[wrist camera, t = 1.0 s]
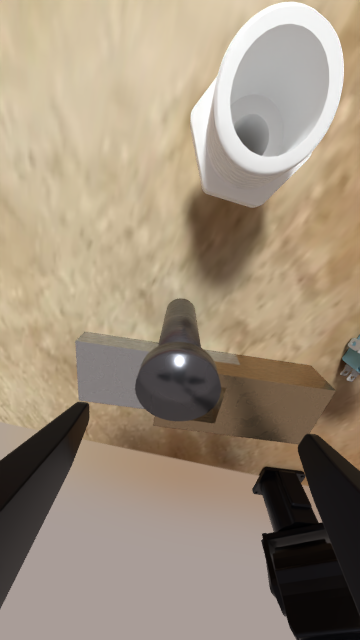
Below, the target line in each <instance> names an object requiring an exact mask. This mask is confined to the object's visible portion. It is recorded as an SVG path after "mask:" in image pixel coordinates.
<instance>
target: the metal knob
mask: <svg viewBox="0 0 360 640" xmlns="http://www.w3.org/2000/svg"><path fill="white" fill-rule="evenodd" d="M135 392H136V396H137V398H138V400H139V402H140V404H141V405H142V406H143V407H144V408H145V409H146V410H147V411H148V412H150V413H151V414H153V415H154V416H156V417H159V418H161V419H165V420H169V421H189V420H193V419H196V418H199V417H201V416H203V415H205V414H206V413H208V412H209V411H210V410H211V409H213V407H214V406H215V405H216V404H217V402H218V400H219V398H220V394H221V383H220V379H219V375H218V371H217V367H216V364H215V362H214V360H213V358H212V357H211V356H210V355H209V354H208V353H207V352H206V351H205V350H204V349H202V348H201V345H200V339H199V332H198V326H197V320H196V313H195V308H194V306H193V304H192V303H191V302H190V301H188V300H186V299H175V300H173V301H172V302H171V303H170V304H169V305H168V307H167V310H166V314H165V319H164V323H163V327H162V332H161V336H160V340H159V345H158V347H156V348H154V349H153V350H151V351H150V352H149V353H148V354H147V355H146V356H145V358H144V360H143V361H142V364H141V367H140V370H139V373H138V376H137V379H136V383H135Z"/></svg>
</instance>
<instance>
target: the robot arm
mask: <svg viewBox="0 0 360 640" xmlns="http://www.w3.org/2000/svg"><path fill="white" fill-rule="evenodd" d="M88 422H89V404H88V403H86V402H77V403H75V404H74V405H73V406H71V407H70V408H69V409H67V410H66V411H65V412H63V413H62V414H61V415H59V416H58V417H57V418H56V419H54V420H53V421H52V422H50V423H49V424H48V425H46V426H45V427H44V428H42V429H41V430H40V431H38V432H37V433H36V434H34V435H33V436H32V437H31V438H29V439H28V440H27V441H25V442H24V443H23V444H21V445H20V446H19V447H18V448H16V449H15V450H14V451H12V452H11V453H9V454H8V455H7V456H6V457H4V458H3V459H2V460H0V608H1V606H2V604H3V602H4V600H5V598H6V596H7V594H8V592H9V590H10V588H11V586H12V584H13V582H14V580H15V578H16V576H17V574H18V572H19V570H20V568H21V566H22V564H23V562H24V560H25V558H26V556H27V554H28V552H29V550H30V548H31V546H32V544H33V542H34V540H35V538H36V536H37V534H38V532H39V530H40V528H41V526H42V524H43V522H44V520H45V518H46V516H47V514H48V512H49V510H50V508H51V506H52V504H53V502H54V500H55V498H56V496H57V494H58V492H59V490H60V488H61V486H62V484H63V482H64V480H65V478H66V476H67V474H68V472H69V470H70V468H71V466H72V463H73V461H74V458H75V456H76V453H77V450H78V448H79V445H80V443H81V440H82V438H83V435H84V432H85V430H86V427H87V425H88ZM298 453H299V456H300V459H301V462H302V465H303V469H304V472H305V474H304V472H301V471H293V470H285V469H277V468H269V467H266V468H264V469H263V471H262V473H261V474H260V476H259V478H258V480H257V482H256V484H255V485H254V487H253V493H254V494H259V495H263V498H264V501H265V504H266V508H267V511H268V514H269V517H270V520H271V524H272V527H273V531H274V532H273V533H268V534H266V533H263V534H262V536H263V539H262V540H261V541H262V545H263V549H264V553H265V558H266V563H267V570H268V578H269V585H270V590H271V593H272V594H273V595H274V596H275V597H276V599H277V601H278V604H279V606H280V608H281V611H282V613H283V615H284V616H287V620H288V623H289V626H290V629H291V631H292V632H293V634H294V636H295V638H296V640H360V471H359V470H358V469H357V468H355V467H354V466H353V465H352V464H351V463H350V462H348V461H347V460H346V459H345V458H344V457H343V456H341V455H340V454H339V453H338V452H337V451H336V450H335V449H333V448H332V447H331V446H330V445H329V444H328V443H326V442H325V441H324V440H323V439H322V438H321V437H319V436H318V435H315V434H306V435H305V436H304V437H303V439H302V440H301V442H300V443H299V445H298ZM305 475H306V478H307V481H308V485H309V488H310V491H311V494H312V497H313V499H314V502H315V504H316V507H317V509H318V512H319V514H320V517H321V519H322V523H318V520H317V519H316V516H315V514H314V512H313V510H312V508H311V504H310V502H309V499H308V497H307V495H306V493H305V491H304V489H303V487H302V485H301V482H302V481H303V479H304V478H305Z"/></svg>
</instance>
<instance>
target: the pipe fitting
mask: <svg viewBox="0 0 360 640" xmlns="http://www.w3.org/2000/svg"><path fill="white" fill-rule="evenodd" d="M343 76H344V62H343V53H342V48H341V44H340V41H339V38H338V36H337V34H336V32H335V30H334V28H333V27H332V25H331V24H330V23H329V22H328V21H327V19H326V18H325V17H323V16H322V15H321V14H320V13H319V12H317V11H316V10H315V9H313V8H311V7H310V6H307V5H305V4H302V3H297V2H282V3H278V4H275V5H272V6H269V7H267V8H265V9H264V10H262V11H260V12H258V13H257V14H256V15H254V16H253V17H252V18H251V19H250V20H248V21H247V22H246V24H245V25H244V26H243V27H242V28H241V29H240V30H239V31H238V33H237V34H236V36H235V37H234V39H233V40H232V42H231V43H230V45H229V47H228V49H227V51H226V53H225V55H224V57H223V60H222V63H221V65H220V69H219V72H218V76H217V77H216V79H215V80H214V81H213V83H212V84H211V85H210V87H209V88H208V89H207V91H206V92H205V93H204V95H203V96H202V97H201V99H200V100H199V101H198V103H197V104H196V105H195V107H194V108H193V110H192V112H191V120H190V129H191V134H192V139H193V144H194V149H195V154H196V160H197V165H198V170H199V175H200V180H201V185H202V189H203V191H204V192H205V193H206V194H208V195H211V196H215V197H218V198H221V199H224V200H228V201H231V202H234V203H237V204H241V205H244V206H247V207H250V208H255V207H258V206H260V205H262V204H264V203H265V202H266V201H267V200H268V199H269V198H270V197H271V196H272V195H273V194H274V193H275V192H276V191H277V190H278V189H279V188H280V187H281V186H282V185H283V184H284V183H285V182H286V181H287V180H288V179H289V178H290V177H291V176H292V175H293V174H294V173H295V172H296V171H297V170H298V169H299V168H300V167H301V166H302V165H303V164H304V163H305V162H306V161H307V160H308V159H309V157H310V156H311V153H312V151H313V150H314V149H315V147H316V146H317V145H318V144H319V142H320V141H321V140H322V138H323V137H324V135H325V134H326V132H327V130H328V128H329V127H330V124H331V122H332V120H333V118H334V116H335V113H336V110H337V107H338V104H339V101H340V97H341V92H342V86H343Z"/></svg>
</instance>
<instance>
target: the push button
mask: <svg viewBox="0 0 360 640" xmlns="http://www.w3.org/2000/svg"><path fill="white" fill-rule="evenodd" d="M353 342H354V343H353ZM352 343H353V344H352ZM348 346H349V347H350V348H349V349H348V351H347V352H346V353H345V355H344V356H343V358H342V359H343V361H345V362H346V363H347V364H346V365H345V366H344V367H345V368H344V369H343V371H342V372H341V373H340V375H343V376H347V375H348V373H349V372H350V371H351V370H352V369H353V370H352V371H351V372H352V373H351V374H350V375H349V376H348V377H347V379H346V380H348V381H351V382H352V381H353V380H354V379H355V378H356V377H357V376H358V375H360V335H359V336H358V338H357V339H356V338H352V339H351V341H350V342H349V343H348ZM345 371H347V373H344V372H345ZM351 376H354V377H353V378H352V379H350V377H351Z"/></svg>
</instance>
